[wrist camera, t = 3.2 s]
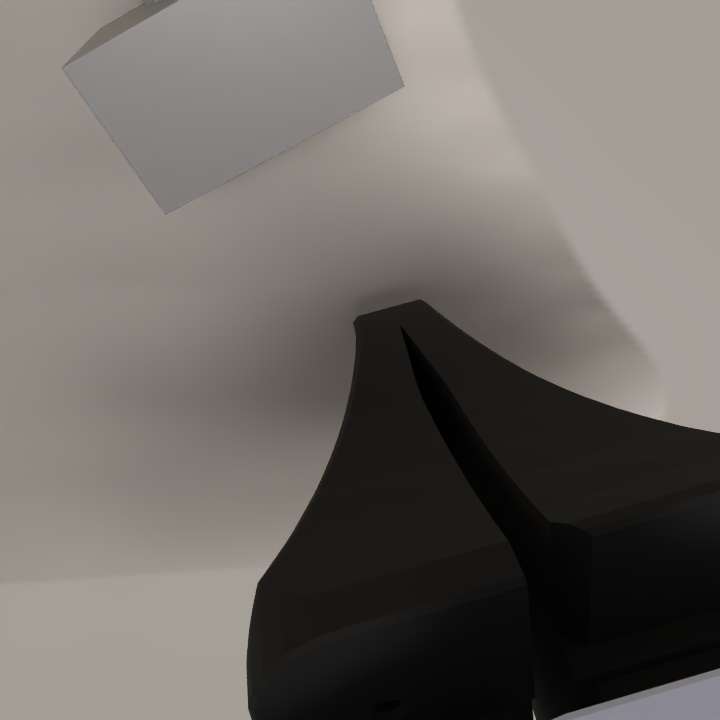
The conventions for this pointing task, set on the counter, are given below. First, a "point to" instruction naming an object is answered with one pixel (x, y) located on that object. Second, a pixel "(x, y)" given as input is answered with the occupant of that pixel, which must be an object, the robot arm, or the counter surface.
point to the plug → (228, 83)
